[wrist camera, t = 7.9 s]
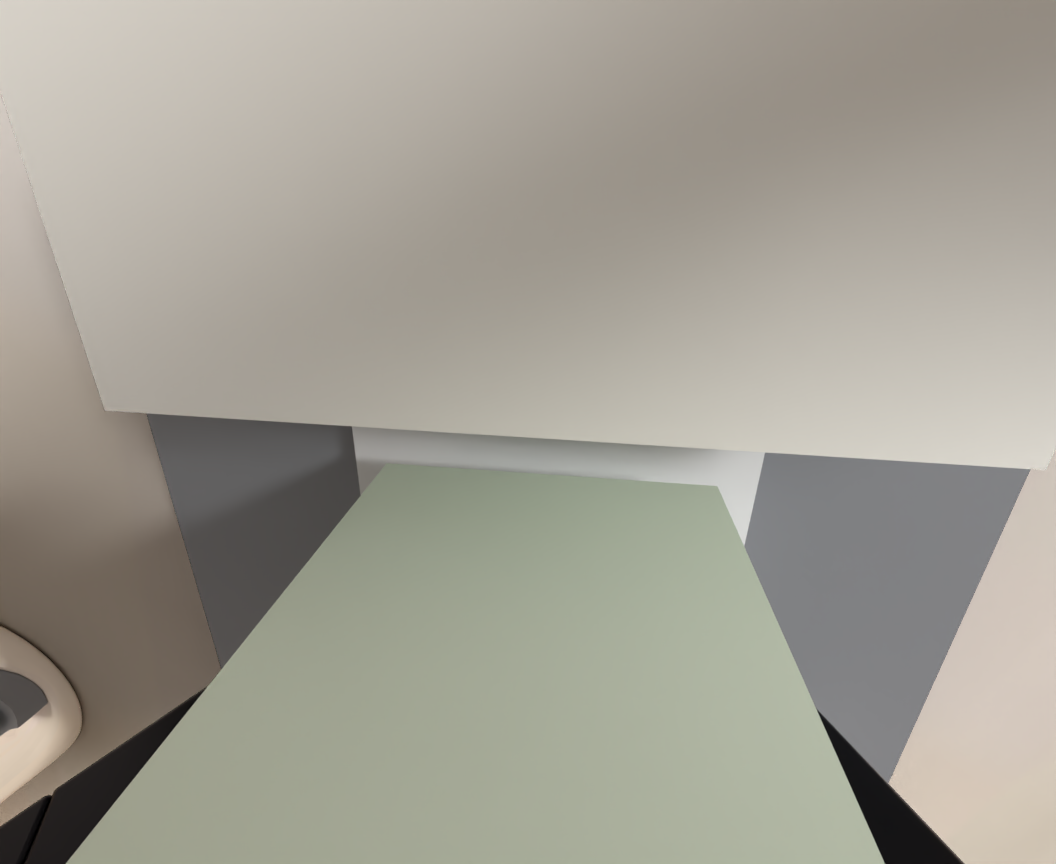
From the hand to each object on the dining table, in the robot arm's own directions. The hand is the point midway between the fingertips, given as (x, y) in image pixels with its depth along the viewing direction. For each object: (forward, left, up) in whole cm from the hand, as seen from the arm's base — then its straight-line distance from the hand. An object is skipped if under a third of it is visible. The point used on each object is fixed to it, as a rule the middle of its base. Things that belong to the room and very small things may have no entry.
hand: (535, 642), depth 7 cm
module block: (0, 0, -1) cm, 1 cm away
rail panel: (0, 0, -4) cm, 4 cm away
